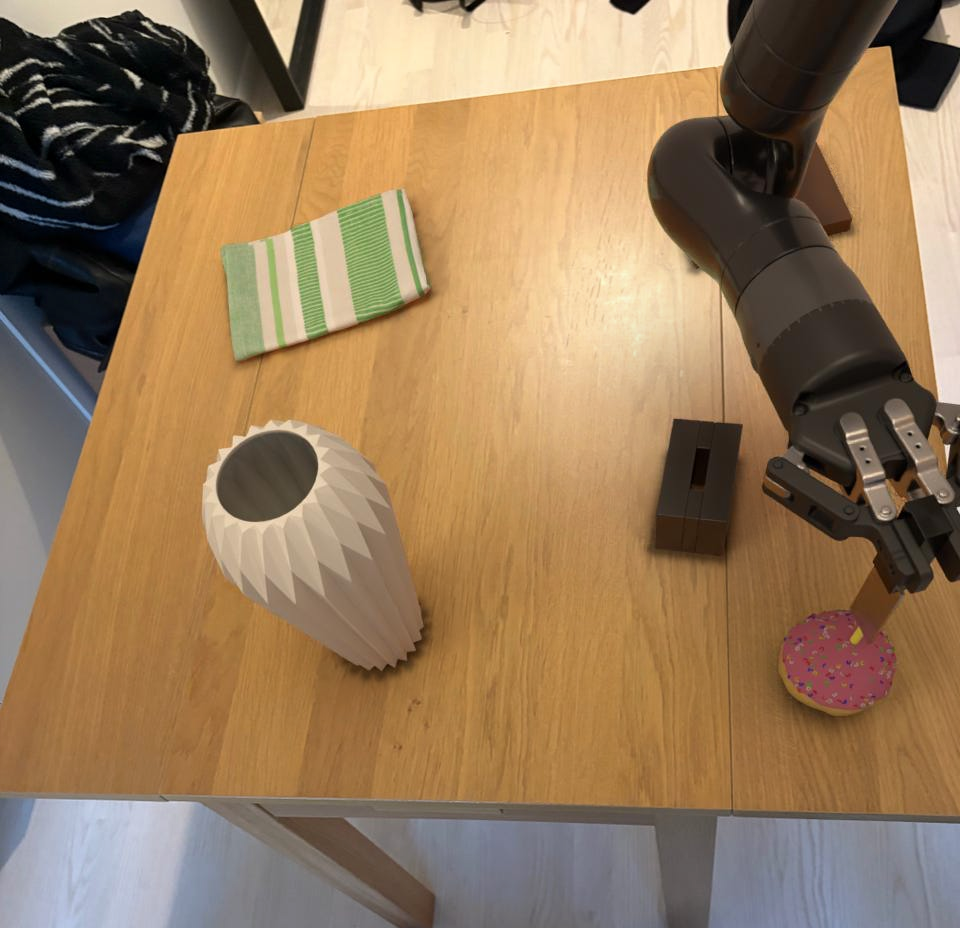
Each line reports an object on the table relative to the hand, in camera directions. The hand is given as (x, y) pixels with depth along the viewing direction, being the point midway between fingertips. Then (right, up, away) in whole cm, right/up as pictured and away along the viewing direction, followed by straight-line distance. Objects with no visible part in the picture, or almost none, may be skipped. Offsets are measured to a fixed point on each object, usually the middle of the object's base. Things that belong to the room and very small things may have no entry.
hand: (943, 579), depth 44 cm
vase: (-34, -2, +33) cm, 48 cm away
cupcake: (+4, -7, +24) cm, 25 cm away
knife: (+2, -2, +13) cm, 13 cm away
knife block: (-5, +9, +32) cm, 34 cm away
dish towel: (-43, +39, +52) cm, 78 cm away
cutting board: (+5, +43, +44) cm, 62 cm away
